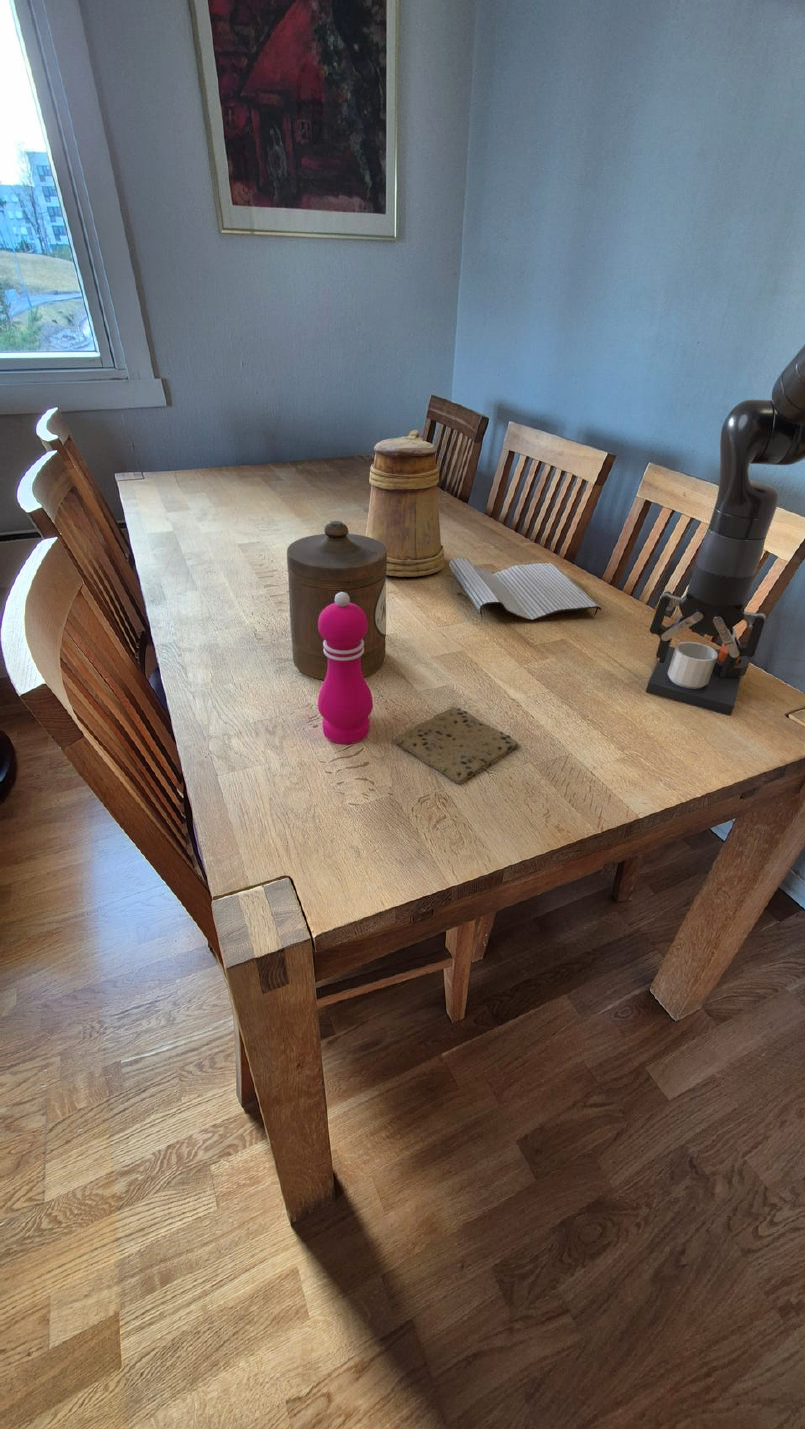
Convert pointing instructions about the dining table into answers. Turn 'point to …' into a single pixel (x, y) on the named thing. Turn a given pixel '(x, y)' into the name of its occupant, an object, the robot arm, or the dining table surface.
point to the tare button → (725, 654)
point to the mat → (521, 589)
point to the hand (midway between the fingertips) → (691, 668)
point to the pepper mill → (344, 672)
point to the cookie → (456, 744)
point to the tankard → (406, 505)
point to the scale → (711, 696)
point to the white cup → (692, 664)
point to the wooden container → (323, 574)
